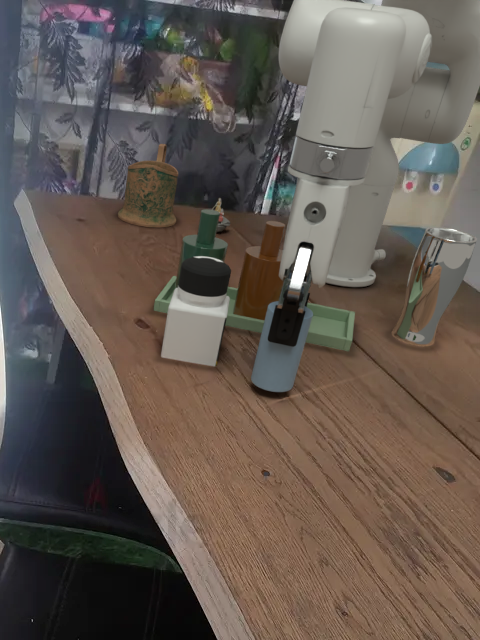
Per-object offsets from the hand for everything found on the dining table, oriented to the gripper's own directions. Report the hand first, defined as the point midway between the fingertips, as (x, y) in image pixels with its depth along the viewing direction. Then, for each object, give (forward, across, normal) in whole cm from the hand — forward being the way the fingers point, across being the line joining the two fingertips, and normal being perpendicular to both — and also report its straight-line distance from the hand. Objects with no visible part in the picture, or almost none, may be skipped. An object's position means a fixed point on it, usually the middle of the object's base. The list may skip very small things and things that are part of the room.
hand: (284, 331), depth 83 cm
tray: (+8, +23, +5) cm, 25 cm away
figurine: (+9, +65, +18) cm, 68 cm away
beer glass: (+9, +28, -17) cm, 34 cm away
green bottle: (+8, +23, +14) cm, 28 cm away
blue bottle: (+6, 0, 0) cm, 6 cm away
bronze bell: (+9, +68, +32) cm, 76 cm away
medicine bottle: (+8, +6, +11) cm, 15 cm away
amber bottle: (+8, +23, +5) cm, 25 cm away
